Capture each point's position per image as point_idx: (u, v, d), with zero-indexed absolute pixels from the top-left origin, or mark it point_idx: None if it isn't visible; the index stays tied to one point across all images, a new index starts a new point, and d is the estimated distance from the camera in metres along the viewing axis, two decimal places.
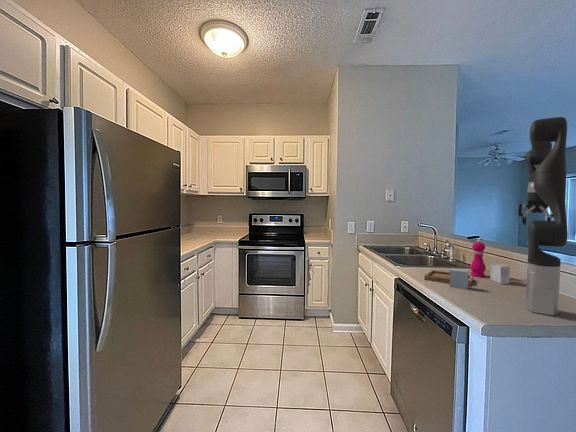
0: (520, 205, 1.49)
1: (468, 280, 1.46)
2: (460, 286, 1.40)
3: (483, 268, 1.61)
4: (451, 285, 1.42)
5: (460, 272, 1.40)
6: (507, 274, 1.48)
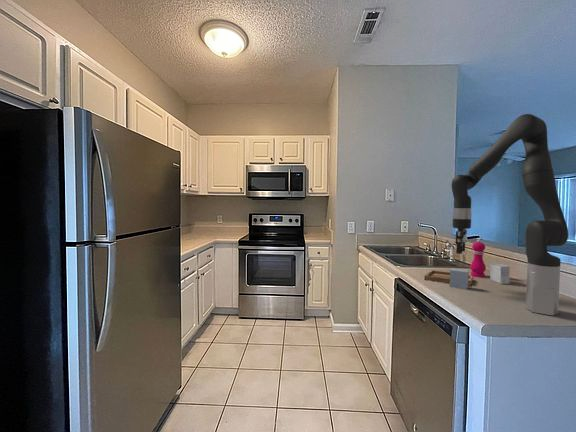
0: (462, 233, 1.36)
1: (468, 280, 1.46)
2: (460, 286, 1.40)
3: (483, 268, 1.61)
4: (451, 285, 1.42)
5: (460, 272, 1.40)
6: (507, 274, 1.48)
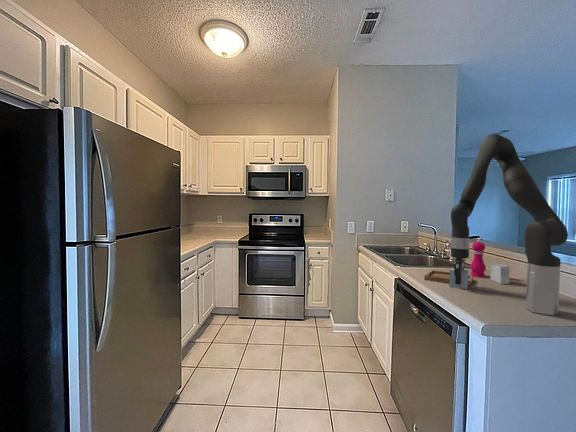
0: (460, 266, 1.36)
1: (468, 280, 1.46)
2: (460, 286, 1.40)
3: (483, 268, 1.61)
4: (451, 285, 1.42)
5: None
6: (507, 274, 1.48)
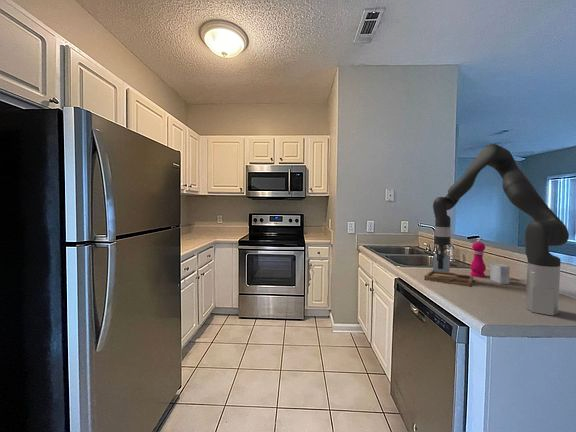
0: (442, 252, 1.52)
1: (468, 280, 1.46)
2: (442, 270, 1.56)
3: (483, 268, 1.61)
4: (434, 269, 1.58)
5: None
6: (507, 274, 1.48)
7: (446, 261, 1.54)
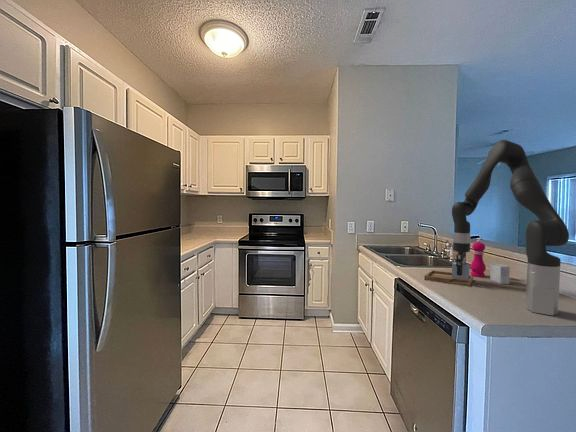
0: (462, 257, 1.46)
1: (468, 280, 1.46)
2: (462, 278, 1.50)
3: (483, 268, 1.61)
4: (453, 277, 1.52)
5: None
6: (507, 274, 1.48)
7: (466, 269, 1.49)
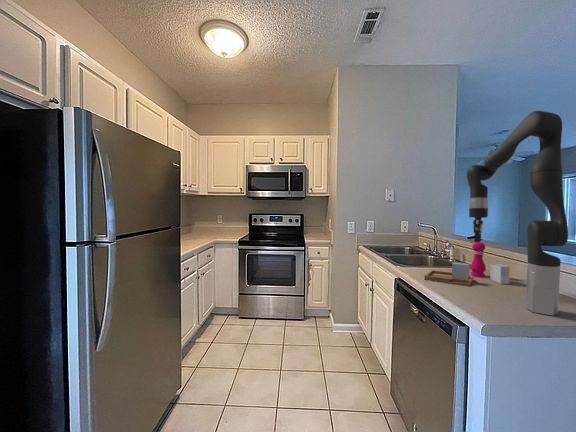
0: (480, 221, 1.38)
1: (468, 280, 1.46)
2: (462, 278, 1.50)
3: (483, 268, 1.61)
4: (453, 277, 1.52)
5: (462, 265, 1.50)
6: (507, 274, 1.48)
7: (466, 269, 1.49)
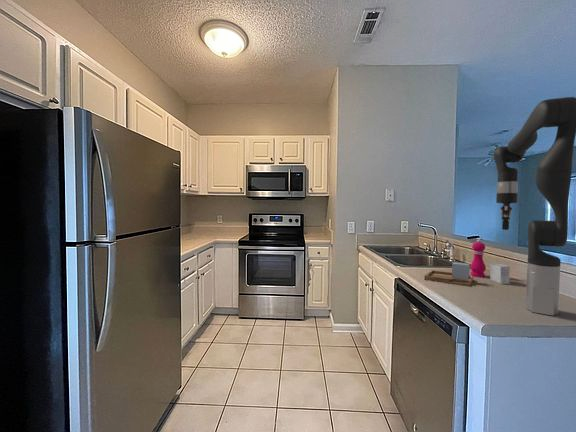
0: (509, 207, 1.27)
1: (468, 280, 1.46)
2: (462, 278, 1.50)
3: (483, 268, 1.61)
4: (453, 277, 1.52)
5: (462, 265, 1.50)
6: (507, 274, 1.48)
7: (466, 269, 1.49)
